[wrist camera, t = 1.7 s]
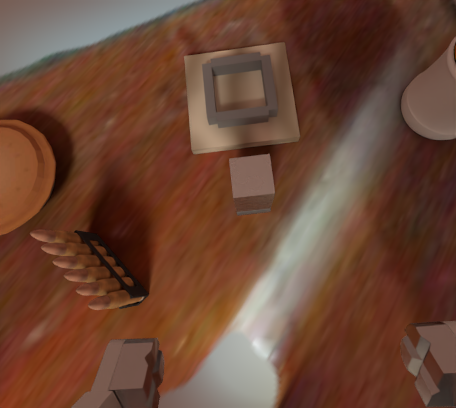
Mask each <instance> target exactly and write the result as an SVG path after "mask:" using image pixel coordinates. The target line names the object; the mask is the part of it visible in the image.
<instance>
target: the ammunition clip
mask: <svg viewBox="0 0 456 408" xmlns="http://www.w3.org/2000/svg"><path fill="white" fill-rule="evenodd" d="M30 235H31V236H32V237H34V238H36V239H38V240H41V241H44V242H49V243H48V244H45V245H43V246H41V248H42V249H43V250H44V251H46V252H48V253H50V254H54V255H60V256H62V257H58V258H56V259H54V260H53V263H54V264H55V265H57V266H59V267H63V268H71V269H76V270H72V271H69V272H67V273H66V274H65V275H64V277H65V278H66V279H68V280H71V281H77V282H87V283H86V284H83V285H81V286H79V287H78V288H77V289H76V292H77V293H79V294H81V295H99V296H100V297H97V298H95V299H93V300H92V301H91V302H90V303H89V304H88V307H89V308H91V309H96V310H101V309H107V308H109V309H113V308H117V307H119V308H120V309H122V308H127V307H131V306H136V305H139V304H140V303H141V302H142V301H143V300H144V299H145V298H146V297H147V296H148V295H149V294H148V292H147V291H146V290H145V289H144V288H143V286H142V285H141V284H140V283H139V282H138V281H137V280H136V278H135V277H134V276H133V275H132V274H131V273H130V272H129V270H128V269H127V268H126V267H125V266H124V265H123V263H122V262H121V261H120V260H119V259H118V258H117V257H116V255H115V254H114V253H113V252H112V251H111V250H110V248H109V247H108V246H107V245H106V244H105V243H104V242H103V240H102V239H101V238H100V237H99V236H98V235H97V234H94V233H89V232H83V231H77V230H76V231H75V232H74V233H73V232H68V231H62V230H58V231H54V230H35V231H32V232H30Z"/></svg>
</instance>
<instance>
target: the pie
mask: <svg viewBox="0 0 456 408" xmlns="http://www.w3.org/2000/svg"><path fill="white" fill-rule="evenodd" d="M55 173H56V160H55V157H54V154H53V150H52V147H51V146H50V144H49V142H48V141H47V139H46V138H45V136H44V135H43V134H42V133H41V132H39V131H38V130H37V129H35V128H34V127H33V126H31V125H29V124H26V123H24V122H22V121H19V120H0V235H2V234H7V233H9V232H11V231H12V230H14V229H16V228H18V227H19V226H21V225H23V224H24V223H26V222H27V221H28V220H29V219H31V218H32V217H33V216H34V215H36V214H37V213H38V212H39V211H40V210H41V209H42V208H43V207H44V206H45V204H46V203H47V201H48V200H49V198H50V196H51V194H52V191H53V188H54V184H55Z"/></svg>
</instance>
